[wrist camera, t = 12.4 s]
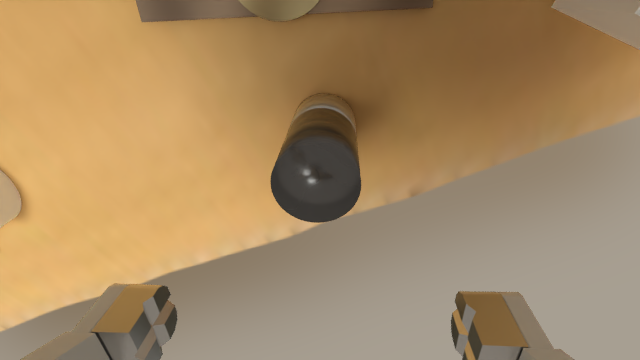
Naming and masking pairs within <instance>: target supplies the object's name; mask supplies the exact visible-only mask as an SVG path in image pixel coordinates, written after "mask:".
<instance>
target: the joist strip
mask: <svg viewBox="0 0 640 360" xmlns="http://www.w3.org/2000/svg"><path fill="white" fill-rule="evenodd" d="M136 3H137V7H138V10H139V14H140V17H141V21H142V22H155V21H175V20H195V19H215V18H235V17H255V16H259V17H261V18H264V19H267V20H271V21H289V20H293V19H296V18H298V17H301V16H303V15H304V14H315V13H335V12H354V11H374V10H394V9H414V8H432V6H433V0H136Z"/></svg>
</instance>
